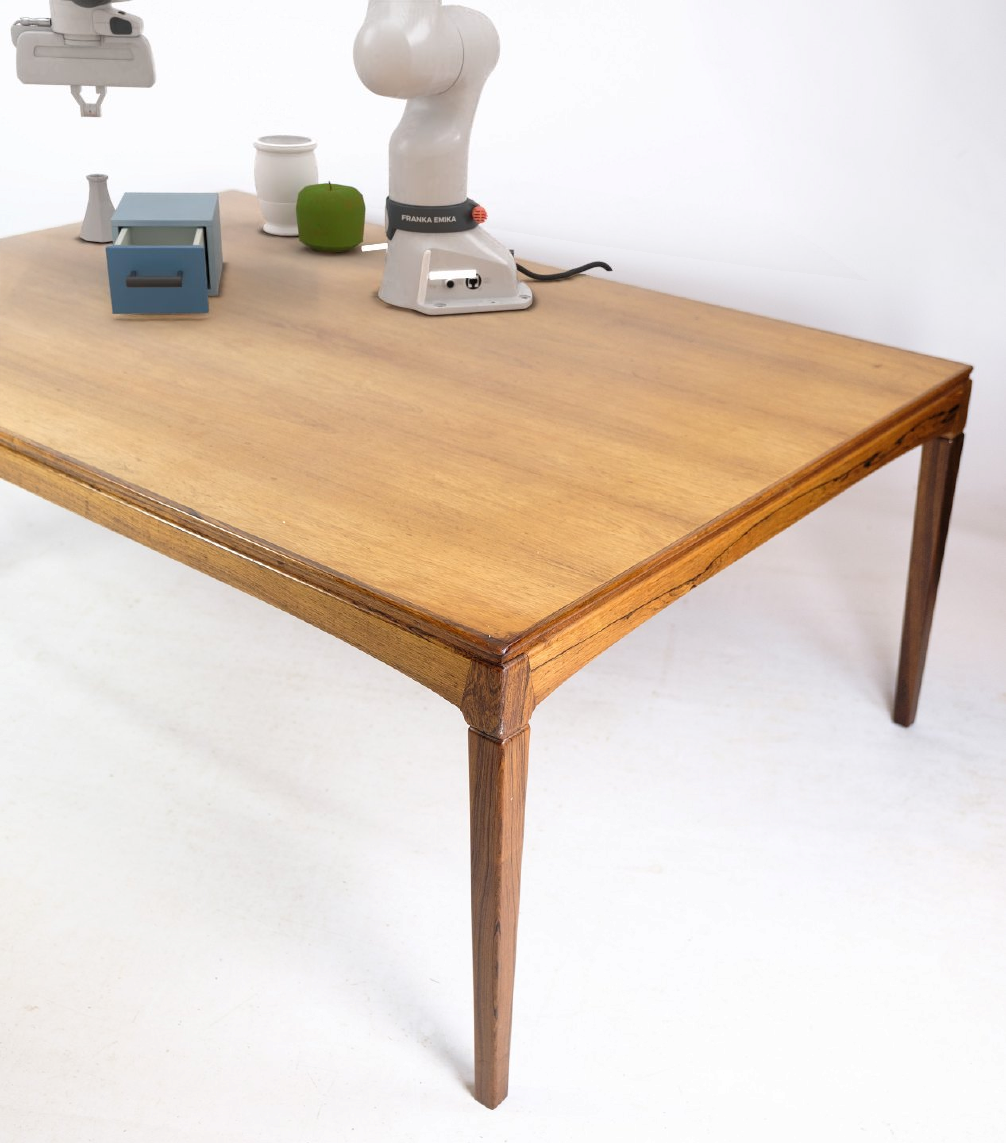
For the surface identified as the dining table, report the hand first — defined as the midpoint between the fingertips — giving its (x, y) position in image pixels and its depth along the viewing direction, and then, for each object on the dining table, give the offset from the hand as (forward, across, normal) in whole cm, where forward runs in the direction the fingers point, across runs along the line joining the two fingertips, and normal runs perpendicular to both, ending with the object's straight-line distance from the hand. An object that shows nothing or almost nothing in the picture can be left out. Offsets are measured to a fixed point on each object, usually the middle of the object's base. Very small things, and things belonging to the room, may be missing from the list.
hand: (91, 116), depth 199 cm
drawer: (+18, +12, -35) cm, 41 cm away
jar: (+20, +30, +9) cm, 37 cm away
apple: (+20, +36, -3) cm, 41 cm away
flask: (+20, 0, +5) cm, 21 cm away
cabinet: (+20, +12, -20) cm, 31 cm away
